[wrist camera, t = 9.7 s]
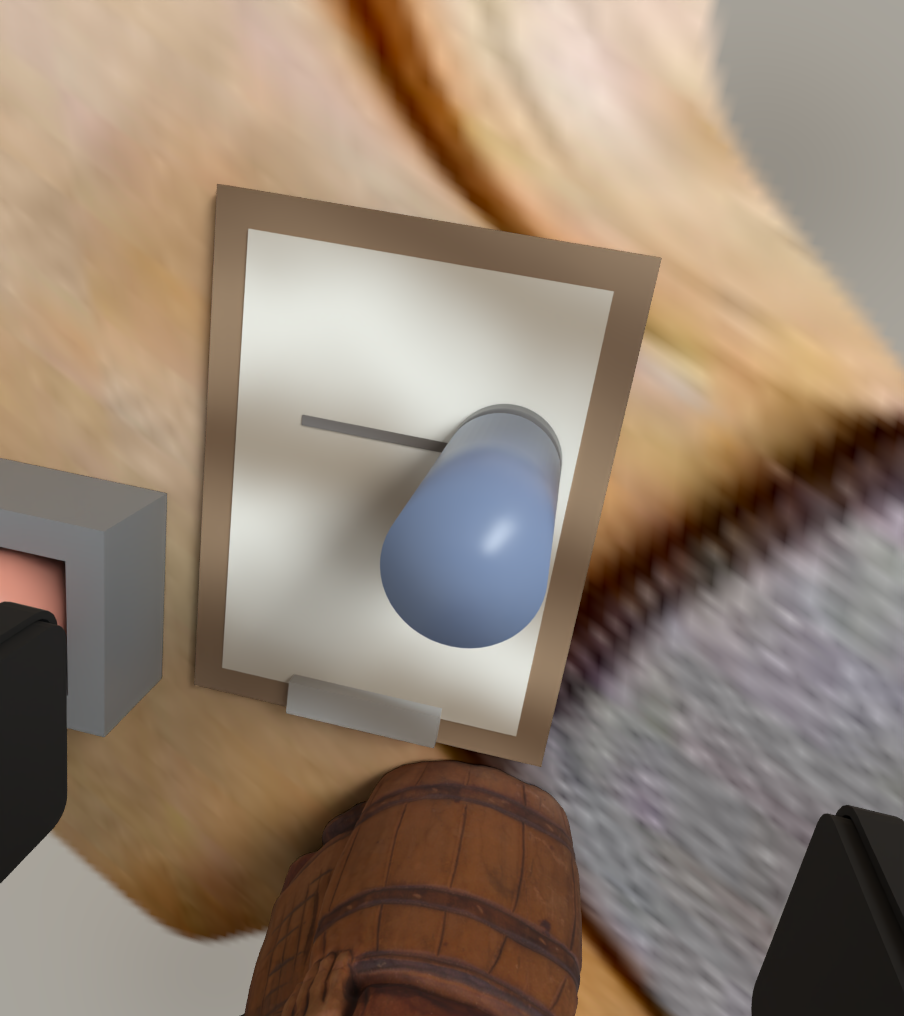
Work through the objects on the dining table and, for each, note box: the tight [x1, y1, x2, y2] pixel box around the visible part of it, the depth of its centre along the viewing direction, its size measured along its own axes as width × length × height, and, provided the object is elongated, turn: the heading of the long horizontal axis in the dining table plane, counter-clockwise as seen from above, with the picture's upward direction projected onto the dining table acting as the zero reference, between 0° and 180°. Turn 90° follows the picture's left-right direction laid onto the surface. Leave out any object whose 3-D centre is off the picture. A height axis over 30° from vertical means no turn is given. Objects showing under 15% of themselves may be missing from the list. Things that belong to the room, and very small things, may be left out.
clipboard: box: [194, 184, 662, 767], centre depth 23 cm, size 16×12×1 cm
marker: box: [380, 404, 562, 648], centre depth 19 cm, size 3×3×8 cm
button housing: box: [0, 458, 167, 737], centre depth 25 cm, size 7×7×4 cm
